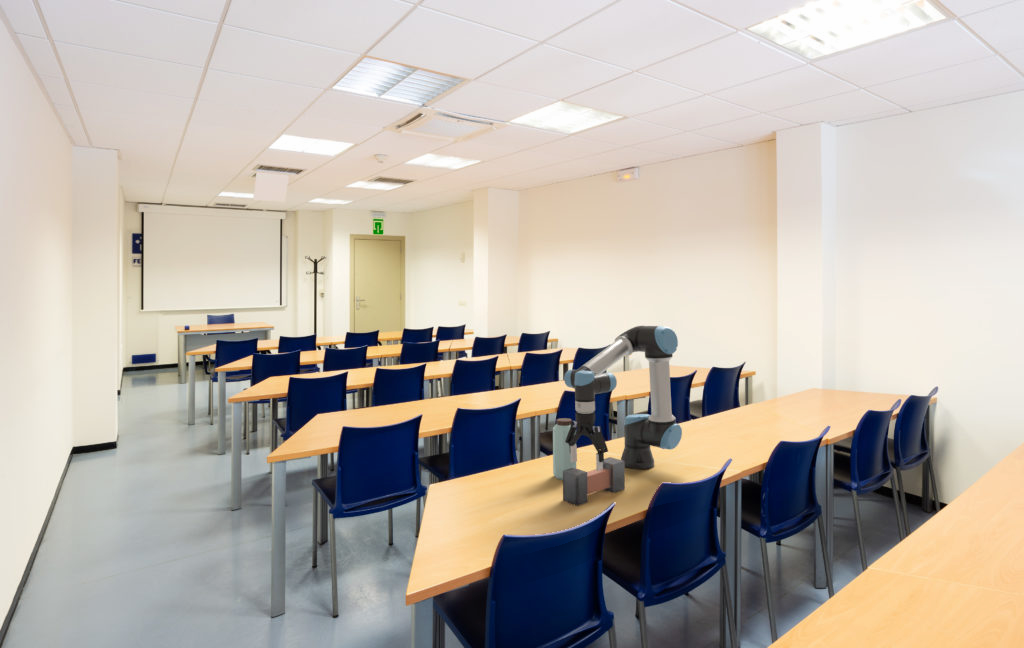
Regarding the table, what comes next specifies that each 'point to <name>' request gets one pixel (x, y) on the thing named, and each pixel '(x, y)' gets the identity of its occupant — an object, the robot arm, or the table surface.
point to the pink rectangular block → (598, 480)
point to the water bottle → (561, 448)
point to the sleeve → (615, 474)
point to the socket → (575, 486)
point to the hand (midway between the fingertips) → (586, 465)
